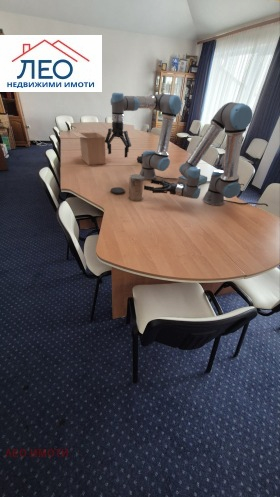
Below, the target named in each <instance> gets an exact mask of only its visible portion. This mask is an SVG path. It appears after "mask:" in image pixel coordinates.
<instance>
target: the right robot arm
mask: <svg viewBox="0 0 280 497" xmlns="http://www.w3.org/2000/svg"><path fill="white" fill-rule="evenodd" d="M252 121H253V110H252V108H251V107H250V106H249V105H248V104H245V103H240V102H234V101H231V102H226V103H224V104H223V105H222V106H221V107H220V108H219V109H218V110H217V112H216V113H215V114H214V115H213V117H212V119H210V125H208V128H207V129H206V131H205V132H204V133H203V135H202V137H201V138H200V140H199V141H198V143H197V144H196V146H195V147H194V149H193V150H192V152H191V153H190V155H189V156H188V157H187V160H186V161H185V162H184V163H181V165H179V168H178V171H179V173H180V175H181V176H184V177H185V178H186V179H187V183H186V185H184V184H181V183H175V182H170V181H167V180H166V179H161V180H158V179H151V180H150V184H153V185H159V186H158V187H157V186H156V187H154V186H151V185H144V184H143V190H144V191H149V192H152V194H168V192H169V194H170V195H173V196H178V197H184V198H189V199H194V200H197V199H199V197H200V194H201V187H199V185H198V182H199V177H200V175H201V168H200V167H198V164H199V163H200V162H201V160H202V159H203V157H204V156H205V155H206V153H207V151H208V150H209V148H210V147H211V146H212V144H213V143H214V141H215V140H216V139H217V137H218V136H219V134H221V132H223V131H224V133H225V134H226V142H225V149H224V161H223V170H221V169H217V170H213V171H212V173H211V176H210V180H209V181H210V182H209V185H208V189H207V191H206V192H205V194H204V196H203V199H202V201H203V202H204V203H205V204H207V205H210V206H222V205H223V204H224V202H227V203H231V204H237V205H258V206H259V205H260V206H263V205H264V206H266V207H269V205H268V203H265V202H263V203H259V202H252V201H248V202H239V201H238V202H237V201H232V200H227V199H232V198H235V197H236V196H237V195H239V193H240V192H241V190H242V185H240V184H241V183H240V182H239V181H240V175H239V174H238V169H239V163H240V155H241V149H242V141H243V134H244V133H246V131H247V128H248V127H249V125H250V124H251V122H252ZM225 198H226V199H225Z"/></svg>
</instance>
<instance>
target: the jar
mask: <svg viewBox="0 0 280 497" xmlns="http://www.w3.org/2000/svg"><path fill="white" fill-rule="evenodd" d="M143 190H144V179H143V176H141V175H140V174H138V173H137V174H130V176H129V184H128V199H129V200H131V201H135V202H136V201H138V202H139V201H141V200H142V199H143Z"/></svg>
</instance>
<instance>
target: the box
mask: <svg viewBox="0 0 280 497" xmlns="http://www.w3.org/2000/svg"><path fill="white" fill-rule="evenodd" d="M70 133H71V134H72V135H74V136H75V137H77V138H79V144H80V153H81V160H83V162H85V163H86V165H87V166H95V165H97V166H98V165H106V163H107V162H106V158H107V157H106V143H105V139H106V136H107V134H108V132H105V131H98V132H96V131H95V130H92V129H91V130H77V132H76V131H70ZM111 136H112V134H111V135H110V137H111Z"/></svg>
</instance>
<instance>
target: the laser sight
mask: <svg viewBox="0 0 280 497" xmlns="http://www.w3.org/2000/svg"><path fill="white" fill-rule="evenodd" d="M142 156H143V153H141V155H140V156H139V155H137V157H136V163H140V164H142Z"/></svg>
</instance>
